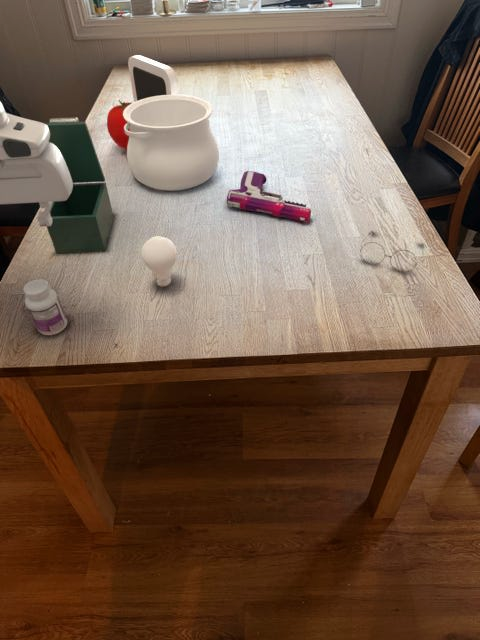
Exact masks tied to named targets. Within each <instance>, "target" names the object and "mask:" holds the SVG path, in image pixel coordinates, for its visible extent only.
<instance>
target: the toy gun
mask: <svg viewBox="0 0 480 640" xmlns="http://www.w3.org/2000/svg"><path fill="white" fill-rule="evenodd" d="M266 183H267V176H266V175H265V174H264V173H260V172H259V171H258V172H257V171H254V170H246V171H244V172H243V174H242V177H241V180H240V186H239V188H237V189H229V190H228V191H227V195H226V205H227V208H235V209H239V210H245V211H249V212H261V213H265V214H269V215H272V216H273V217H279V218H284V219H290V220H294V221H299V222H303V223H309V222H310V220H311V217H312V216H311V215H312V209H311V207H308V206H307V204H306V203H305V204H303V203H299V202H295V201H290V200H286V199H283V195H282V194H280V193H277V192H276V193H275V192H271V191H266V190H265V189H263V187H264V185H265V184H266Z"/></svg>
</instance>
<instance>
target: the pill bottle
mask: <svg viewBox="0 0 480 640" xmlns="http://www.w3.org/2000/svg"><path fill="white" fill-rule="evenodd" d="M23 292H24V295H25V298H24V304H25V307H26V309H27V311H28V313H29V315H30V317H31V319H32V321H33V323H34V326H35V327H36V329H37V332H39V334H42V335H44V336H53V335H57V334H59V333H61V332H62V331H63V330H64V329H65V328H66V327H67V325H68V318H67V316H66V312H65V311H64V309H63V305H62V303H61V301H60V299H59V296H58V294H57V292H56V291H55V290H54V289H53V288H51V287H50V285H49V283H48V282H47V280H45V279H42V278H38V279H33V280H30V281H29V282H27V283H26V284H25V285H24V286H23Z"/></svg>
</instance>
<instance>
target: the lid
mask: <svg viewBox="0 0 480 640" xmlns="http://www.w3.org/2000/svg"><path fill="white" fill-rule="evenodd" d="M43 123H44V124H46V125H47V126H48V128H49V131H50V139H49V142H50V143H52V144H54V145H55V146H56V147H57V148H58V149H59V151H60V152H61V154H62V156H63V158H64V160H65V163H66V165H67V167H68V170H69V173H70V175H71V178H72V182H73V184H81V183H103V182H106V177H105V174H104V171H103V169H102V165H101V163H100V160H99V157H98V154H97V151H96V148H95V146H94V145H95V144H94V143H93V138H92V137H91V133H90V130H89V127H88V124H87V122H86V121H80V120H79V118H78V117H56V118H54V117H53V118H49V122H43Z"/></svg>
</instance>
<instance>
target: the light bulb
mask: <svg viewBox="0 0 480 640" xmlns="http://www.w3.org/2000/svg"><path fill="white" fill-rule="evenodd" d="M177 258H178V251H177V247H176V245H175V243H173V241H171V239H169V238H167V237H166V236H161V235H160V236H159V235H158V236H157V235H156V236H153V237H150V238H148V239H147V240H146V241H145V243H144V244H143V246H142V249H141V259H142V262H143V264H144V265H145V266H146V267H147V268H148V269H149V270H150V271H152V273H153V276H154V278H155V281H156V284H157V286H159V287H162V288H165V287H168V286H170V285H171V282H172V277H171V276H172V269H173V267H174V265H175V263H176V262H177Z"/></svg>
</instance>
